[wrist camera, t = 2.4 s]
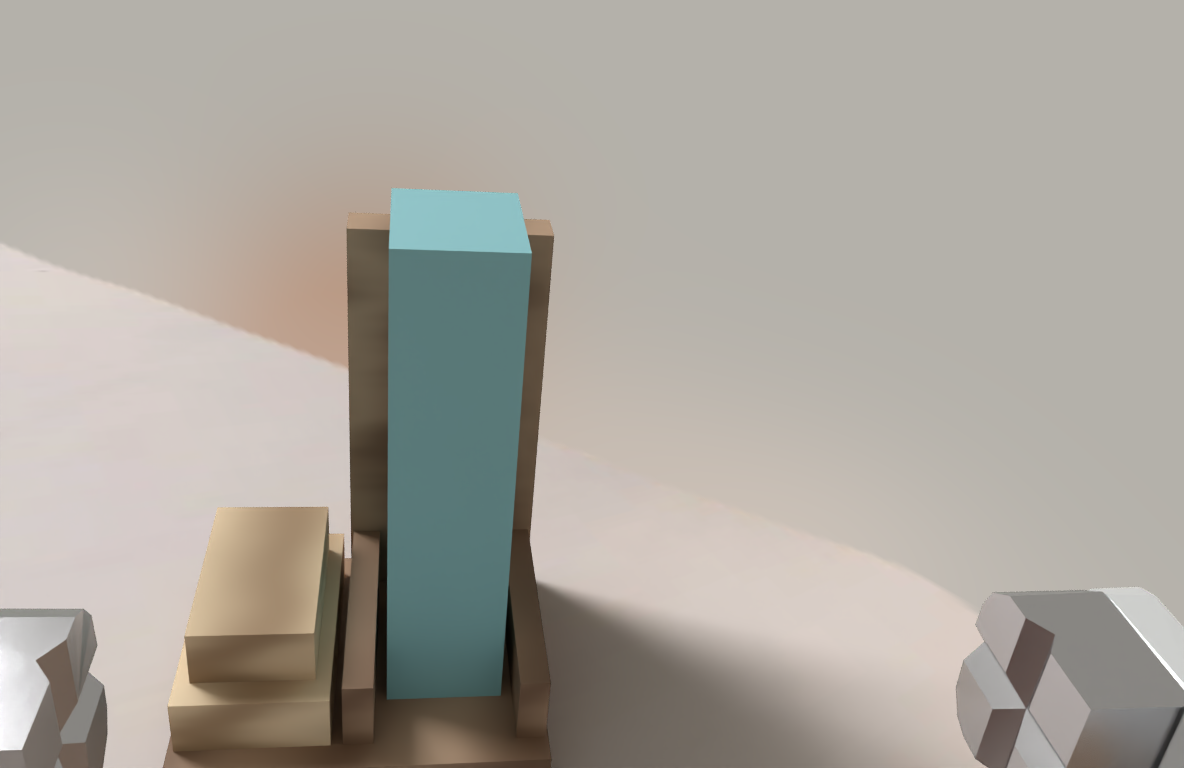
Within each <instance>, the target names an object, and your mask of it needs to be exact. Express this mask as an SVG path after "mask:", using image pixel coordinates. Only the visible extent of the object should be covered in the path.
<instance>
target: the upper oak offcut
mask: <svg viewBox="0 0 1184 768" xmlns="http://www.w3.org/2000/svg"><path fill="white" fill-rule="evenodd" d="M328 558H329V518H328V507H228V508H217V512H216V516H215V520H214V524H213V527H212V531H211V535H210V539H209V543H208V547H207V551H206V555H205V558H204V562H203V566H202V570H201V574H200V578H199V582H198V585H197V589H196V593H195V597H194V601H193V605H192V609H191V612H190V616H189V620H188V624H187V628H186V632H185V636H184V638H185V647H186V656H187V666H188V675H189V683H218V682H251V681H284V680H316V672H317V662H318V653H319V643H320V634H321V624H322V615H323V605H324V596H325V586H326V577H327V567H328Z"/></svg>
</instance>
